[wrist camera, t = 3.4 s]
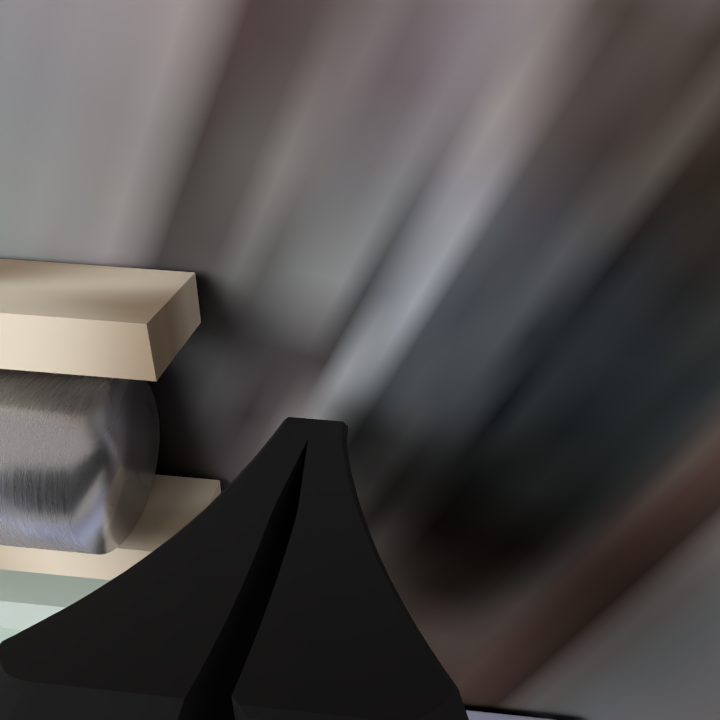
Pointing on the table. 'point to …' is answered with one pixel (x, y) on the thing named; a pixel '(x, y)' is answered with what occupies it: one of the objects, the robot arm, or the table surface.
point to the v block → (37, 597)
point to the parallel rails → (102, 375)
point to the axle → (74, 459)
